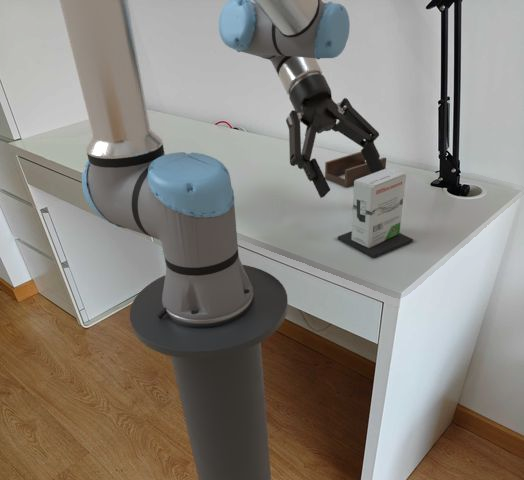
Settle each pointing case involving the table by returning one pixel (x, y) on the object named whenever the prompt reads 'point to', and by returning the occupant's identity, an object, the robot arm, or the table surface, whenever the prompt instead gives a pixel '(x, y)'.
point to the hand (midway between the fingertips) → (353, 184)
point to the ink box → (377, 207)
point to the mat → (379, 248)
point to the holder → (348, 169)
